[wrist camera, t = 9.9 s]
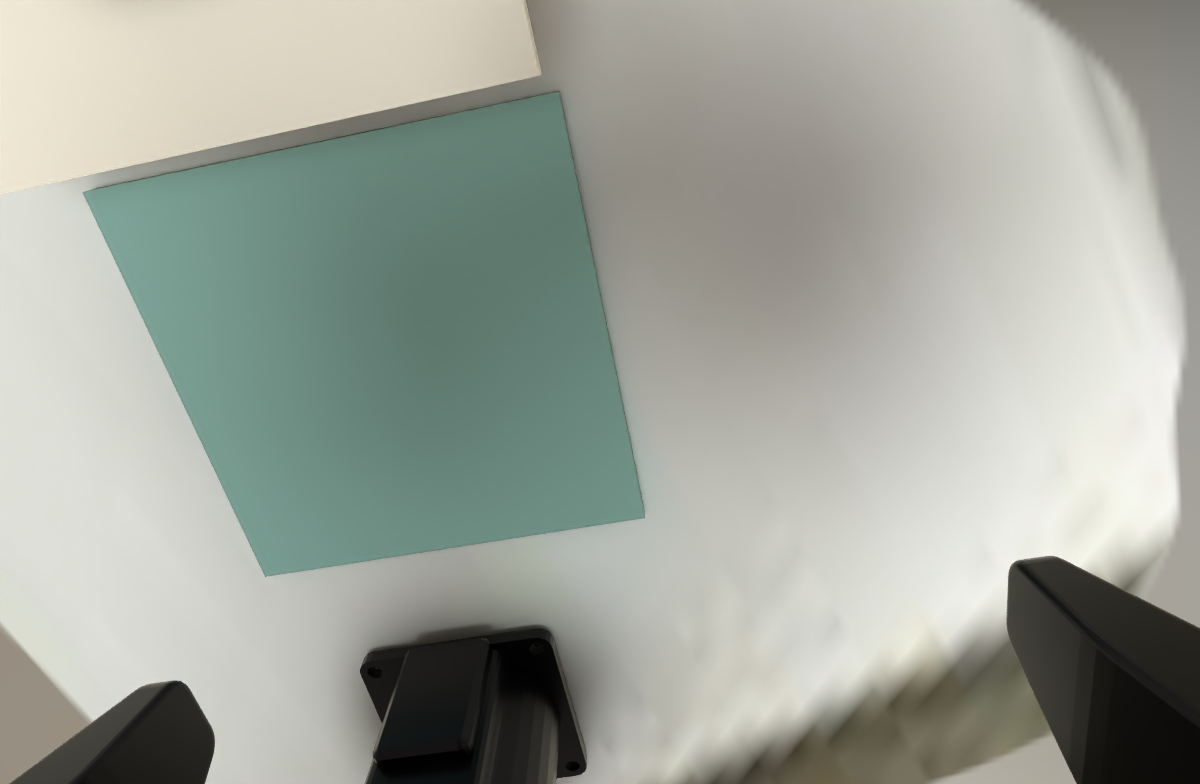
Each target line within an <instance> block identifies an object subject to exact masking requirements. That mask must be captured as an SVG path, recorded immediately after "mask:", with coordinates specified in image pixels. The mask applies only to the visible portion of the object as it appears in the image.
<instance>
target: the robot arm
mask: <svg viewBox="0 0 1200 784" xmlns="http://www.w3.org/2000/svg"><path fill="white" fill-rule="evenodd" d="M1007 631H1008V635H1009V639H1010V642H1011V645H1012V647H1013V650H1014V652H1015V654H1016V656H1017V658H1018V660H1019V662H1020V665H1021V667H1022V669H1023V671H1024V673H1025V675H1026V677H1027V679H1028V682H1029V684H1030V686H1031V688H1032V690H1033V692H1034V694H1035V697H1036V699H1037V701H1038V703H1039V705H1040V707H1041V709H1042V711H1043V714H1044V716H1045V718H1046V720H1047V722H1048V724H1049V726H1050V729H1051V731H1052V733H1053V735H1054V737H1055V739H1056V741H1057V743H1058V746H1059V748H1060V750H1061V752H1062V754H1063V756H1064V758H1065V760H1066V763H1067V765H1068V767H1069V769H1070V771H1071V773H1072V775H1073V777H1074V779H1075V781H1076V783H1077V784H1200V628H1199V627H1197V626H1195V625H1193V624H1191V623H1188V622H1187V621H1184V620H1183V619H1180V618H1179V617H1177V616H1175V615H1173V614H1171V613H1169V612H1167V611H1165V610H1163V609H1161V608H1159V607H1157V606H1155V605H1153V604H1151V603H1149V602H1147V601H1145V600H1143V599H1141V598H1139V597H1137V596H1135V595H1133V594H1131V593H1129V592H1127V591H1125V590H1123V589H1121V588H1119V587H1117V586H1115V585H1113V584H1111V583H1109V582H1107V581H1105V580H1103V579H1101V578H1099V577H1097V576H1095V575H1093V574H1091V573H1089V572H1087V571H1085V570H1083V569H1081V568H1079V567H1077V566H1075V565H1073V564H1071V563H1069V562H1067V561H1065V560H1063V559H1061V558H1058V557H1055V556H1045V557H1038V558H1031V559H1024V560H1018V561H1016V562H1014V563H1013V564H1012V565H1011V567H1010V569H1009V575H1008V598H1007ZM535 643H537V644H541V645H543V646H535V645H533V644H535ZM374 667H378V668H380V669H376V668H374ZM360 673H361V676H362V678H363V681H364V683H365V685H366V688H367V690H368V692H369V694H370V697H371V699H372V701H373V703H374V706H375V708H376V710H377V713H378V715H379V717H380V719H381V722H382V727H381V730H380V733H379V736H378V739H377V742H376V745H375V748H374V751H373V760H372V764H371V767H370V770H369V773H368V776H367V779H366V782H365V784H556V778H562V777H570V776H576V775H580V774H582V773H583V772H585V770H586V768H587V754H586V750H585V747H584V743H583V740H582V736H581V733H580V729H579V726H578V722H577V719H576V715H575V712H574V709H573V705H572V702H571V698H570V695H569V691H568V688H567V684H566V681H565V677H564V674H563V670H562V667H561V663H560V660H559V656H558V653H557V649H556V646H555V643H554V639H553V637H552V635H551V634H550V633H549V632H547V631H545V630H542V629H531V630H524V631H517V632H510V633H503V634H496V635H489V636H482V637H475V638H468V639H461V640H455V641H448V642H441V643H434V644H427V645H420V646H413V647H406V648H399V649H392V650H385V651H378V652H372V653H369V654H368V655H367V656H365V658H364V661H363V663H362V666H361V668H360ZM214 747H215V737H214V733H213V729H212V727H211V725H210V724H209V722H208V720H207V718H206V717H205V715H204V713H203V711H202V710H201V708H200V706H199V704H198V703H197V701H196V699H195V697H194V696H193V694H192V692H191V690H190V689H189V687H188V686H187V685H186V684H184V683H182V682H181V681H167V682H160V683H153V684H148V685H145V686H142V687H140V688H138V689H137V690H135V691H134V692H133V693H131V694H130V695H129V696H127V697H126V698H125V699H123V700H122V701H121V702H119V703H118V704H117V705H115V706H114V707H112V708H111V709H110V710H108V711H107V712H106V713H104V714H103V715H102V716H100V717H99V718H98V719H96V720H95V721H94V722H92V723H91V724H90V725H88V726H87V727H85V728H84V729H83V730H82V731H80V732H79V733H77V734H76V735H75V736H73V737H72V738H71V739H69V740H68V741H67V742H65V743H64V744H63V745H61V746H60V747H59V748H57V749H56V750H54V751H53V752H52V753H50V754H49V755H48V756H46V757H45V758H44V759H42V760H41V761H40V762H39V763H37V764H35V765H34V766H33V767H32V768H30V769H29V770H27V771H26V772H25V773H23V774H22V775H21V776H19V777H18V778H17V779H15V780H14V781H13V782H11V783H10V784H205V781H206V778H207V774H208V771H209V768H210V764H211V761H212V758H213V754H214Z"/></svg>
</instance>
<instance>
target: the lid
mask: <svg viewBox="0 0 1200 784" xmlns="http://www.w3.org/2000/svg"><path fill="white" fill-rule="evenodd" d="M540 75H542V73H541V68H540V64H539V59H538V55H537V50H536V45H535V41H534V36H533V31H532V27H531V22H530V18H529V13H528V8H527V4H526V0H0V195H1V194H6V193H10V192H15V191H19V190H24V189H29V188H33V187H38V186H42V185H47V184H51V183H56V182H60V181H65V180H69V179H74V178H78V177H83V176H88V175H92V174H97V173H101V172H106V171H110V170H115V169H119V168H124V167H128V166H133V165H137V164H142V163H147V162H151V161H156V160H160V159H165V158H169V157H174V156H178V155H183V154H187V153H192V152H197V151H201V150H206V149H210V148H215V147H219V146H224V145H228V144H233V143H237V142H242V141H246V140H251V139H256V138H260V137H265V136H269V135H274V134H278V133H283V132H287V131H292V130H296V129H301V128H305V127H310V126H315V125H319V124H324V123H328V122H333V121H337V120H342V119H346V118H351V117H355V116H360V115H365V114H369V113H374V112H378V111H383V110H387V109H392V108H396V107H401V106H405V105H410V104H414V103H419V102H424V101H428V100H433V99H437V98H442V97H446V96H451V95H455V94H460V93H464V92H469V91H473V90H478V89H483V88H487V87H492V86H496V85H501V84H505V83H510V82H514V81H519V80H523V79H528V78H533V77H537V76H540Z"/></svg>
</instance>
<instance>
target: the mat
mask: <svg viewBox="0 0 1200 784" xmlns="http://www.w3.org/2000/svg"><path fill="white" fill-rule="evenodd" d="M83 194H84V196H85V198H86V200H87V203H88V205H89V207H90V209H91V211H92V213H93V215H94V217H95V219H96V222H97V224H98V226H99V228H100V230H101V232H102V234H103V236H104V238H105V240H106V243H107V245H108V247H109V249H110V251H111V253H112V255H113V257H114V259H115V261H116V264H117V266H118V268H119V270H120V272H121V274H122V276H123V278H124V280H125V283H126V285H127V287H128V289H129V291H130V293H131V295H132V297H133V299H134V301H135V304H136V306H137V308H138V310H139V312H140V314H141V316H142V318H143V320H144V323H145V325H146V327H147V329H148V331H149V333H150V335H151V337H152V339H153V341H154V344H155V346H156V348H157V350H158V352H159V354H160V356H161V358H162V360H163V363H164V365H165V367H166V369H167V371H168V373H169V375H170V377H171V379H172V381H173V384H174V386H175V388H176V390H177V392H178V394H179V396H180V398H181V400H182V403H183V405H184V407H185V409H186V411H187V413H188V415H189V417H190V419H191V421H192V424H193V426H194V428H195V430H196V432H197V434H198V436H199V438H200V440H201V443H202V445H203V447H204V449H205V451H206V453H207V455H208V457H209V459H210V461H211V464H212V466H213V468H214V470H215V472H216V474H217V476H218V478H219V480H220V483H221V485H222V487H223V489H224V491H225V493H226V495H227V497H228V499H229V501H230V504H231V506H232V508H233V510H234V512H235V514H236V516H237V518H238V520H239V523H240V525H241V527H242V529H243V531H244V533H245V535H246V537H247V539H248V541H249V544H250V546H251V548H252V550H253V552H254V554H255V556H256V558H257V560H258V562H259V565H260V567H261V569H262V571H263V573H264V575H265V577H267V576H273V575H280V574H286V573H292V572H299V571H305V570H312V569H318V568H325V567H331V566H338V565H344V564H350V563H357V562H363V561H370V560H376V559H383V558H389V557H396V556H402V555H408V554H415V553H421V552H428V551H434V550H441V549H447V548H453V547H460V546H466V545H473V544H479V543H486V542H492V541H499V540H505V539H511V538H518V537H524V536H531V535H537V534H544V533H550V532H557V531H563V530H569V529H576V528H582V527H589V526H595V525H602V524H608V523H615V522H621V521H627V520H634V519H640V518H645V513H644V506H643V501H642V496H641V492H640V487H639V482H638V477H637V472H636V467H635V462H634V457H633V452H632V447H631V442H630V437H629V433H628V428H627V423H626V418H625V413H624V408H623V403H622V398H621V393H620V388H619V383H618V378H617V373H616V369H615V364H614V359H613V354H612V349H611V344H610V339H609V334H608V329H607V324H606V319H605V314H604V310H603V305H602V300H601V295H600V290H599V285H598V280H597V275H596V270H595V265H594V260H593V255H592V250H591V246H590V241H589V236H588V231H587V226H586V221H585V216H584V211H583V206H582V201H581V196H580V191H579V187H578V182H577V177H576V172H575V167H574V162H573V157H572V152H571V147H570V142H569V137H568V132H567V127H566V123H565V118H564V113H563V108H562V103H561V98H560V93H559V91H558V92H553V93H548V94H543V95H539V96H534V97H529V98H524V99H520V100H515V101H510V102H505V103H501V104H496V105H491V106H486V107H482V108H477V109H472V110H467V111H463V112H458V113H453V114H448V115H444V116H439V117H434V118H429V119H425V120H420V121H415V122H410V123H406V124H401V125H396V126H391V127H387V128H382V129H377V130H372V131H368V132H363V133H358V134H353V135H349V136H344V137H339V138H334V139H330V140H325V141H320V142H315V143H311V144H306V145H301V146H296V147H292V148H287V149H282V150H277V151H273V152H268V153H263V154H258V155H254V156H249V157H244V158H239V159H235V160H230V161H225V162H220V163H216V164H211V165H206V166H201V167H197V168H192V169H187V170H182V171H178V172H173V173H168V174H163V175H159V176H154V177H149V178H144V179H140V180H135V181H130V182H125V183H121V184H116V185H111V186H106V187H102V188H97V189H92V190H89V191H85V192H83Z"/></svg>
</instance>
